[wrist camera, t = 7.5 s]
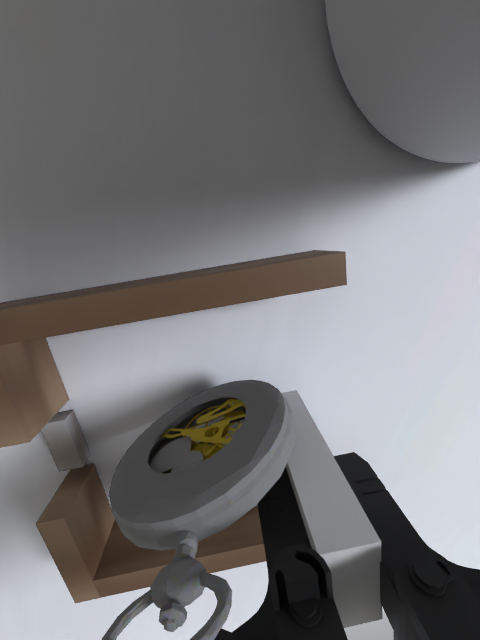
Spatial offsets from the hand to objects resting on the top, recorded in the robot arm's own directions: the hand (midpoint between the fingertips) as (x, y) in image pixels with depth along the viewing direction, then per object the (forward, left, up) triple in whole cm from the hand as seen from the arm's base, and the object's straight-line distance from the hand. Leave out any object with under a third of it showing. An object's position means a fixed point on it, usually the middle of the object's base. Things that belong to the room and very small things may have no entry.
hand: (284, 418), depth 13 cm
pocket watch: (+1, -2, -2) cm, 3 cm away
